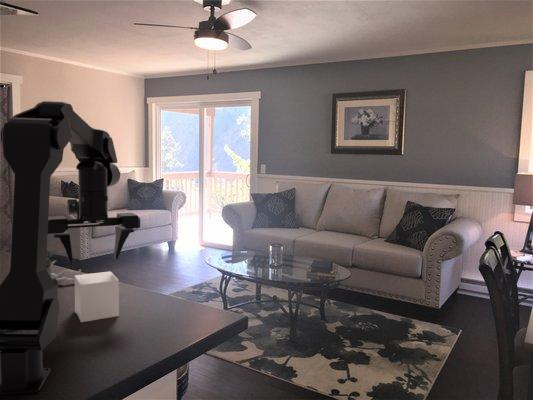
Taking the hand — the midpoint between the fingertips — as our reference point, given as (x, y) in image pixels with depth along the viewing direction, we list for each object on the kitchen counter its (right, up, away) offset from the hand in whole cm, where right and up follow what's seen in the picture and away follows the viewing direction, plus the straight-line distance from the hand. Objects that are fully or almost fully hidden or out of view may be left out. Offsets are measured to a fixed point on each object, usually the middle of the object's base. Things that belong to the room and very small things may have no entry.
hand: (94, 261), depth 95 cm
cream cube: (+1, -11, -1) cm, 11 cm away
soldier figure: (-17, -8, +17) cm, 25 cm away
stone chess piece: (-16, -9, +11) cm, 22 cm away
